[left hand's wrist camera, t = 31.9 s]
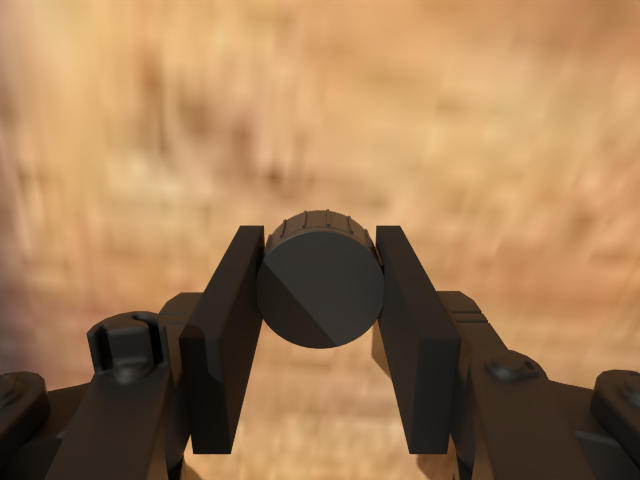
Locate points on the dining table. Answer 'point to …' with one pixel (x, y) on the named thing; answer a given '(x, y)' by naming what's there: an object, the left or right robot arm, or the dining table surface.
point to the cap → (320, 280)
